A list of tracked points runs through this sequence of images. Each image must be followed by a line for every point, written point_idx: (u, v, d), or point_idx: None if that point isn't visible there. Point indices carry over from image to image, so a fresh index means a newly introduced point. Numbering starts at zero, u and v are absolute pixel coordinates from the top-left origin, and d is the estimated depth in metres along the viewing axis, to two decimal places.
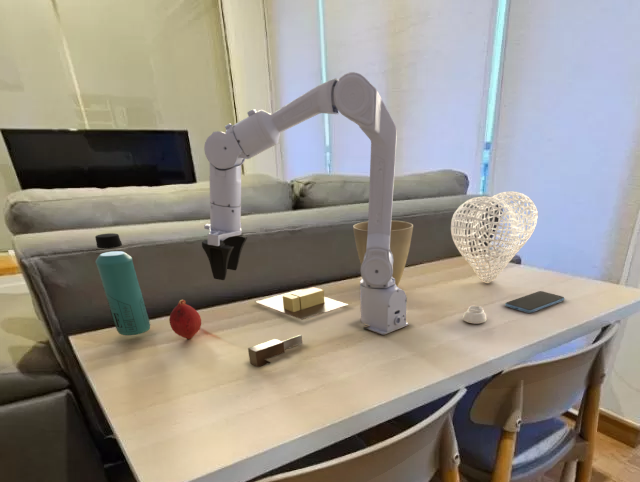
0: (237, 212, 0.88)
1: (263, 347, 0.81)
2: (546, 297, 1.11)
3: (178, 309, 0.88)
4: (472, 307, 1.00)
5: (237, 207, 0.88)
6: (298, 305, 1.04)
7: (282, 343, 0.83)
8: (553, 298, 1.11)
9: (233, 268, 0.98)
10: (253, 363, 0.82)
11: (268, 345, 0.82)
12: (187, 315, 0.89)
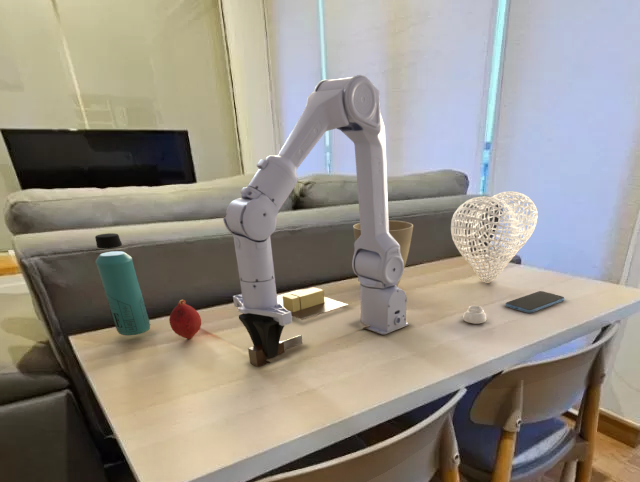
0: None
1: None
2: (546, 297, 1.11)
3: (178, 309, 0.88)
4: (472, 307, 1.00)
5: None
6: (298, 305, 1.04)
7: (282, 343, 0.83)
8: (553, 298, 1.11)
9: None
10: (254, 363, 0.82)
11: None
12: (187, 315, 0.89)
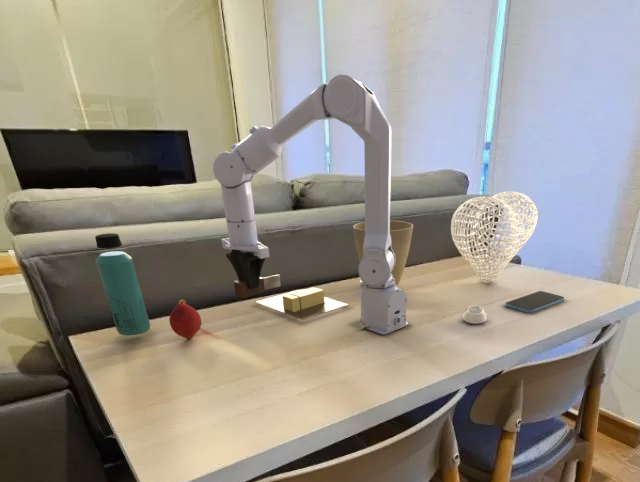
0: None
1: (246, 281, 0.98)
2: (546, 297, 1.11)
3: (178, 309, 0.88)
4: (472, 307, 1.00)
5: None
6: (298, 305, 1.04)
7: (262, 279, 1.00)
8: (553, 298, 1.11)
9: None
10: (238, 294, 0.98)
11: None
12: (187, 315, 0.89)
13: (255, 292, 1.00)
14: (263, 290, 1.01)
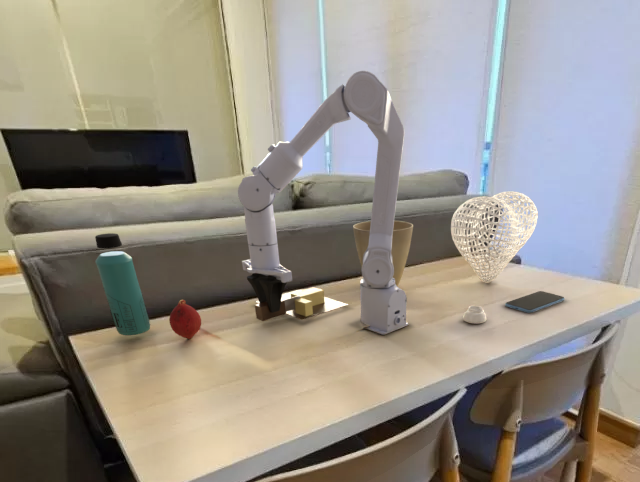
0: None
1: (267, 304, 0.96)
2: (546, 297, 1.11)
3: (178, 309, 0.88)
4: (472, 307, 1.00)
5: None
6: (311, 309, 1.01)
7: (283, 301, 0.98)
8: (553, 298, 1.11)
9: None
10: (259, 317, 0.96)
11: None
12: (187, 315, 0.89)
13: (276, 315, 0.98)
14: (284, 312, 0.99)
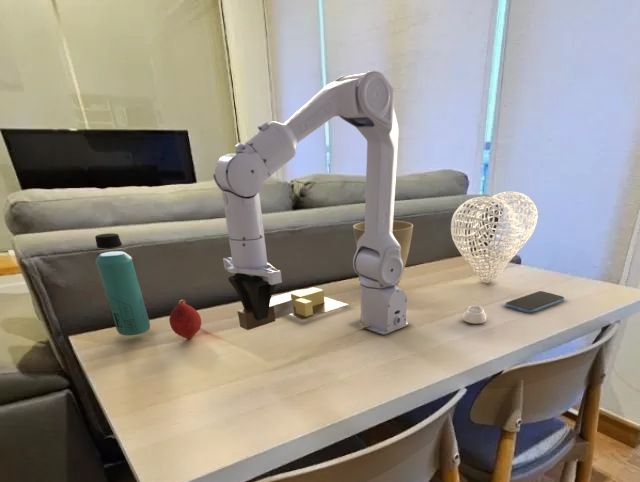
0: None
1: None
2: (546, 297, 1.11)
3: (178, 309, 0.88)
4: (472, 307, 1.00)
5: None
6: (311, 309, 1.01)
7: (272, 306, 0.83)
8: (553, 298, 1.11)
9: None
10: (243, 326, 0.81)
11: None
12: (187, 315, 0.89)
13: (263, 323, 0.83)
14: (273, 320, 0.84)
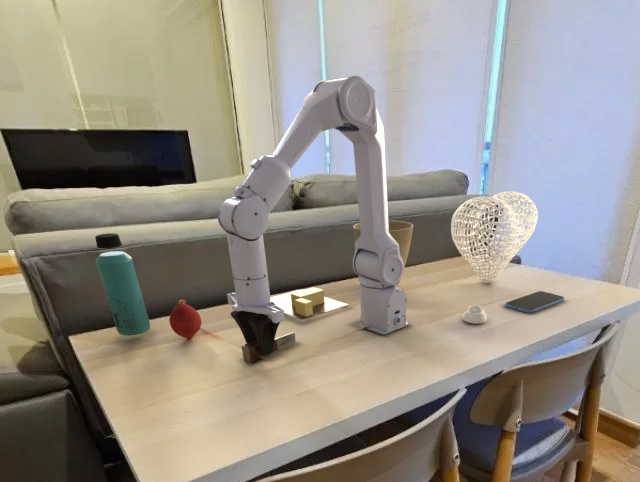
0: None
1: (256, 344, 0.83)
2: (546, 297, 1.11)
3: (178, 309, 0.88)
4: (472, 307, 1.00)
5: None
6: (311, 309, 1.01)
7: (275, 340, 0.85)
8: (553, 298, 1.11)
9: None
10: (247, 359, 0.83)
11: None
12: (187, 315, 0.89)
13: None
14: None
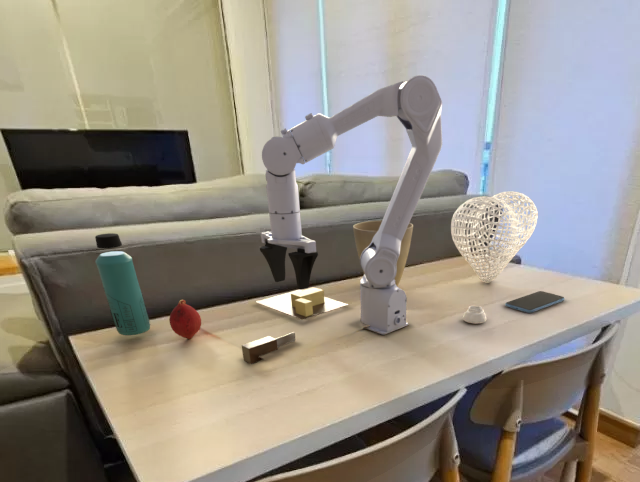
0: None
1: (256, 344, 0.83)
2: (546, 297, 1.11)
3: (178, 309, 0.88)
4: (472, 307, 1.00)
5: None
6: (311, 309, 1.01)
7: (275, 340, 0.85)
8: (553, 298, 1.11)
9: (282, 279, 0.95)
10: (247, 359, 0.83)
11: (261, 342, 0.83)
12: (187, 315, 0.89)
13: None
14: None
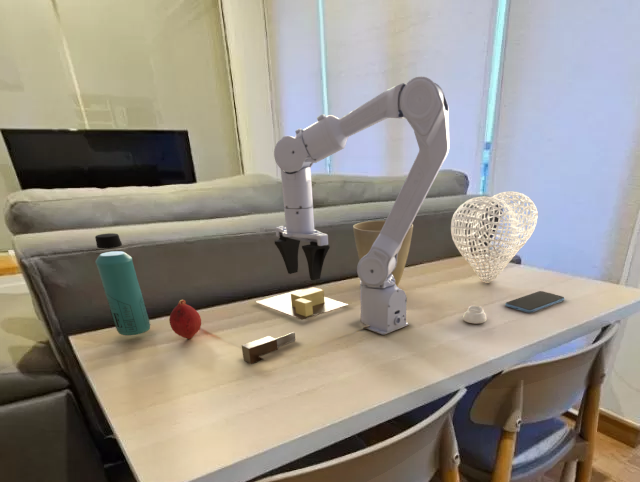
0: None
1: (256, 344, 0.83)
2: (546, 297, 1.11)
3: (178, 309, 0.88)
4: (472, 307, 1.00)
5: None
6: (311, 309, 1.01)
7: (275, 340, 0.85)
8: (553, 298, 1.11)
9: (295, 271, 1.00)
10: (247, 359, 0.83)
11: (261, 342, 0.83)
12: (187, 315, 0.89)
13: None
14: None
